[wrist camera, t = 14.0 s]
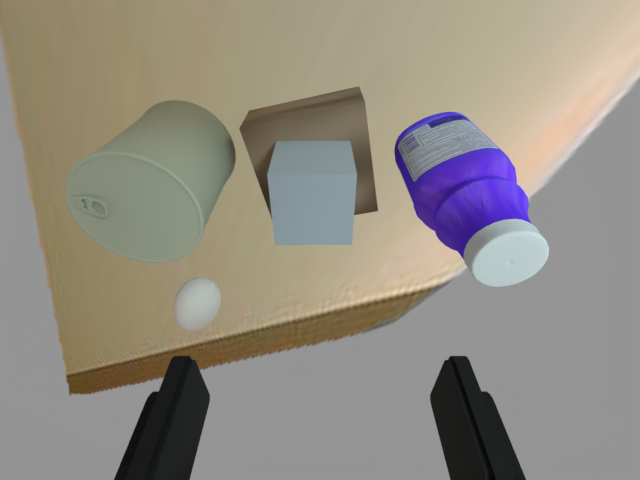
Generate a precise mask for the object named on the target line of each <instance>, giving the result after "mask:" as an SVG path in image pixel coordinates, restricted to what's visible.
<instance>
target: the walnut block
mask: <svg viewBox="0 0 640 480" xmlns="http://www.w3.org/2000/svg"><path fill="white" fill-rule="evenodd" d="M239 129H240V132H241V135H242V138H243V140H244V143H245V146H246V149H247V152H248V154H249V157H250V160H251V163H252V166H253V168H254V171H255V174H256V177H257V180H258V182H259V185H260V188H261V191H262V194H263V196H264V199H265V202H266V205H267V207H268V210H269V213H270V216H271V219H272V214H271V205H270V196H269V187H268V178H267V174H268V170H269V166H270V163H271V159H272V155H273V151H274V148H275V144H276V141H350V142H351V147H352V152H353V157H354V162H355V167H356V172H357V182H356V196H355V210H354V215H358V214H364V213H370V212H376V211H378V206H377V198H376V189H375V181H374V173H373V164H372V156H371V148H370V139H369V131H368V123H367V114H366V106H365V100H364V98H363V95H362V92H361V90H360V87H359V86H358V87H353V88H349V89H344V90H340V91H335V92H331V93H326V94H322V95H317V96H313V97H308V98H304V99H299V100H295V101H290V102H285V103H281V104H276V105H272V106H267V107H263V108H258V109H254V110H249V112H248V114H247V115H246V117H245V119H244V121H243V123H242V124H241V126H240V128H239Z"/></svg>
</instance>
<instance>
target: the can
mask: <svg viewBox="0 0 640 480" xmlns="http://www.w3.org/2000/svg"><path fill="white" fill-rule="evenodd" d="M235 161H236V153H235V147H234V143H233V140H232V138H231V136H230V134H229V132H228V130H227V129H226V127H225V126H224V125H223V123H222V122H221V121H220V120H219V119H218V118H217V117H216V116H215V115H213V114H212V113H211V112H209V111H208V110H206V109H205V108H203V107H201V106H199V105H197V104H194V103H191V102H187V101H181V100H169V101H163V102H160V103H158V104H155V105H154V106H152V107H151V108H149V109H148V110H147V111H146V112H145V113H144V114H143V116H142V117H141V118H140V119H138V120H137V121H136V122H135V123H133V124H132V125H131V126H129V127H128V128H127V129H125V130H124V131H123V132H121V133H120V134H119V135H117V136H116V137H114V138H113V139H112V140H110V141H109V142H108V143H106V144H105V145H104V146H102V147H101V148H99V149H98V150H96V151H95V152H94V153H92V154H90V155H88V156H86V157H84V158H83V159H81V160H80V161H79V162H77V163H76V164H75V165H74V166H73V168H72V169H71V170H70V172H69V174H68V176H67V179H66V183H65V197H66V202H67V205H68V207H69V210H70V212H71V214H72V216H73V218H74V219H75V221H76V222H77V224H78V225H79V226H80V227H81V228H82V230H83V231H84V232H85V233H86V234H87V235H88V236H90V237H91V238H92V239H93V240H94V241H96V242H97V243H98V244H100V245H101V246H103V247H104V248H106V249H108V250H110V251H111V252H113V253H115V254H118V255H120V256H123V257H125V258H128V259H132V260H135V261H140V262H147V263H164V262H170V261H174V260H177V259H180V258H182V257H184V256H186V255H188V254H189V253H190V252H192V251H193V250H194V249H195V248H196V246H197V245H198V244H199V242H200V240H201V238H202V235H203V232H204V229H205V226H206V224H207V222H208V219H209V217H210V215H211V213H212V210H213V208H214V206H215V204H216V202H217V200H218V197H219V195H220V193H221V191H222V189H223V187H224V185H225V183H226V181H227V180H228V179H229V177H230V176H231V174H232V172H233V170H234V167H235Z"/></svg>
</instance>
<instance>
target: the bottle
mask: <svg viewBox="0 0 640 480" xmlns="http://www.w3.org/2000/svg"><path fill="white" fill-rule="evenodd" d="M394 153H395V161H396V164H397V166H398V169H399V170H400V172H401V175H402V178H403V180H404V183H405V185H406V187H407V190H408V192H409V195H410V197H411V200H412V202H413V204H414V205H413V206H414V209H415V212H416V215H417V216H418V218H419V219H420V220H421V221H422V222H423V223H424V224H425V225H426V226H427V227H429V228H430V229H432V230H434V231H435V233H436V236H437V237H438V239H439V240H440V241H441V242H442V243H443V244H444V245H445V246H447V247H449V248H450V249H452V250H455V251H458V252H459V254H460V255H461V257H462V258H463V259H464V262H465V264H466V266H467V267H468V268H469V270H470V271H471V273H472V275H473V277H474V278H475V279H476V280H477V281H478V282H480V283H482V284H484V285H487V286H492V287H502V286H510V285H514V284H517V283H520V282H522V281H524V280H526V279H528V278H530V277H531V276H533V275H534V274H536V273H537V272H538V271H539V270H540V269H541V268H542V267H543V265H544V264H545V262H546V260H547V258H548V255H549V246H548V244H547V242H546V240H545V239H544V238H543V236H542V235H541V234H540V233H539V231H538V229H537V228H536V227H535V226H534V225H533V224H532V223H531V221H530V219H529V217H528V208H529V202H528V197H527V195H526V194H525V192H524V191H523V189H522V188H521V187H520V186H519V185H517V177H516V170H515V167H514V166H513V164H512V162H511V161H510V159H509V157H508V156H507V155H506V154H505V153H504V152H503V151H502V150H501V149H500V148H499V147H497V146H496V145H495V144H494V143H493V142H492V141H491V140H490V139H489V138H488V137H487V136H486V135H485V134H484V133H483V132H481V131H480V130H479V128H477V127H476V126H475V125H474V124H473V123H472V122H471V121H470V120H469V119H468V118H467V117H466V116H464V115H462V114H460V113H457V112H443V113H438V114H434V115H431V116H428V117H426V118H423V119H421V120H419V121H417V122H416V123H414V124H412V125H411V126H409V127H408V128H407V129H405V130H404V131H403V132H402V133H401V134H400V135H399V136H398V138H397V141H396V144H395V149H394Z"/></svg>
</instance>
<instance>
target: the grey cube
mask: <svg viewBox="0 0 640 480" xmlns="http://www.w3.org/2000/svg"><path fill="white" fill-rule="evenodd" d="M267 178H268V187H269V196H270V205H271V214H272V223H273V232H274V241H275V245H352V239H353V225H354V210H355V196H356V182H357V172H356V167H355V162H354V157H353V152H352V147H351V142H350V141H276V144H275V148H274V151H273V155H272V159H271V163H270V166H269V170H268V174H267Z"/></svg>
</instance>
